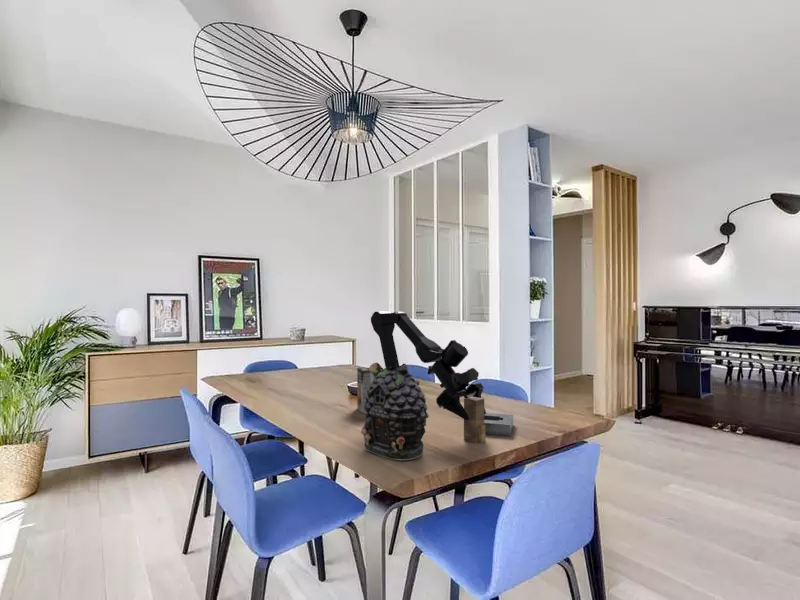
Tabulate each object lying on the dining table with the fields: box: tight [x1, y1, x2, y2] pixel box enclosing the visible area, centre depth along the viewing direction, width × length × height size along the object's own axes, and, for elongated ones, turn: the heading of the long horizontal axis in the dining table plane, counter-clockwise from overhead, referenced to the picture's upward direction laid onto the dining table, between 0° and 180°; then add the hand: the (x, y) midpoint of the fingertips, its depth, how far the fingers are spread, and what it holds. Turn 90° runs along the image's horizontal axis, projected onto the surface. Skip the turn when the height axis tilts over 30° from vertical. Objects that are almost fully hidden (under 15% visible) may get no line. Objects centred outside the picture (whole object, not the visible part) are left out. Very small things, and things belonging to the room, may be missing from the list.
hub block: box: [484, 412, 514, 437], centre depth 149 cm, size 14×14×4 cm
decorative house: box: [360, 362, 430, 461], centre depth 125 cm, size 21×15×25 cm
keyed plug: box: [463, 397, 486, 443], centre depth 136 cm, size 6×4×12 cm
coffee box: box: [356, 367, 371, 414], centre depth 174 cm, size 9×6×16 cm
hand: (476, 416), depth 136 cm, fingers open, 9 cm apart
